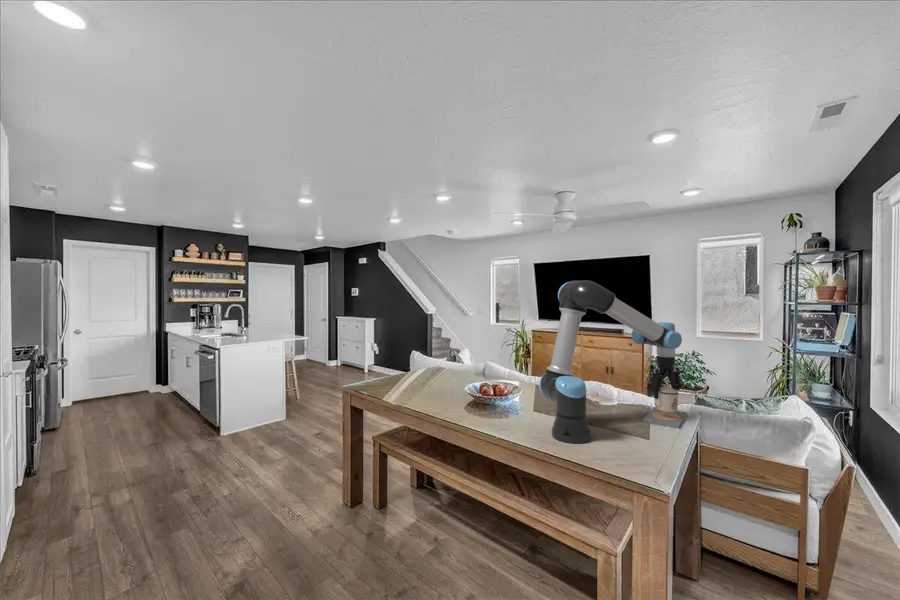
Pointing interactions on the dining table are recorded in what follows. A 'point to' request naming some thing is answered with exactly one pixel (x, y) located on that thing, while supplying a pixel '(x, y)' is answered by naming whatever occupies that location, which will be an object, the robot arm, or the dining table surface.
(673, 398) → the teacup with lid
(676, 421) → the slate tray
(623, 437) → the dining table surface
